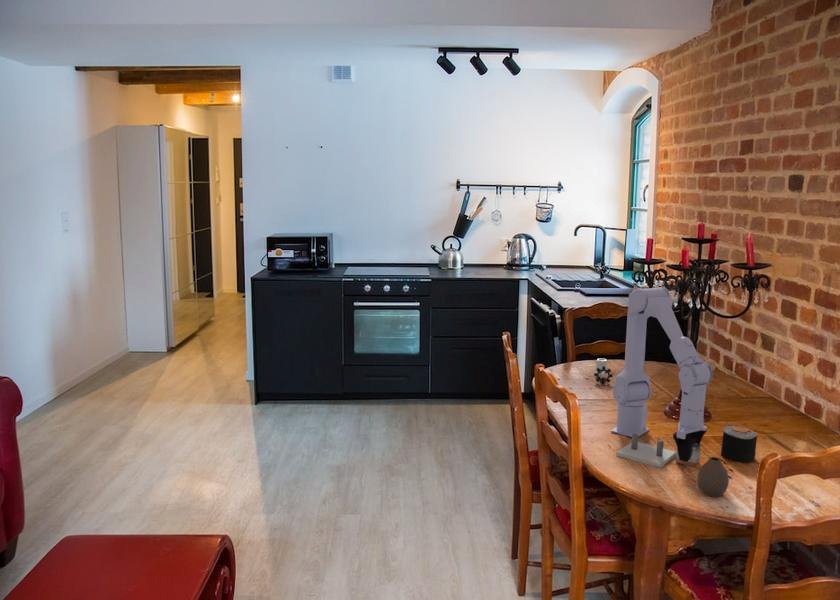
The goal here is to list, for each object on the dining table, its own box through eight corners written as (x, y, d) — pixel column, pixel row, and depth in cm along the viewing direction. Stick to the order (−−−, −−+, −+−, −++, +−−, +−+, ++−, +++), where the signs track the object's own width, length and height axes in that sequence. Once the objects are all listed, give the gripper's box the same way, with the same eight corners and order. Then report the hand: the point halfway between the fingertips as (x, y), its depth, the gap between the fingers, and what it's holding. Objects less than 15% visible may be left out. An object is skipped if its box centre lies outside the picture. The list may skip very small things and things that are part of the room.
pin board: (633, 444, 203) (634, 427, 202) (675, 455, 195) (677, 437, 194) (616, 455, 194) (618, 438, 193) (660, 467, 187) (662, 449, 186)
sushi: (728, 448, 201) (731, 421, 199) (759, 457, 195) (762, 429, 193) (715, 456, 195) (718, 428, 194) (746, 465, 189) (749, 436, 188)
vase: (691, 492, 172) (694, 458, 171) (703, 484, 177) (707, 450, 176) (719, 502, 168) (723, 467, 166) (732, 493, 172) (735, 459, 171)
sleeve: (681, 457, 194) (683, 439, 193) (699, 461, 191) (700, 444, 190) (675, 462, 190) (677, 444, 190) (693, 467, 188) (694, 448, 187)
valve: (591, 374, 272) (593, 383, 260) (592, 357, 271) (594, 366, 259) (609, 375, 271) (612, 384, 259) (610, 358, 270) (613, 367, 258)
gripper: (698, 418, 180) (693, 469, 182) (716, 404, 191) (712, 453, 194) (670, 412, 184) (666, 462, 187) (690, 399, 195) (685, 446, 198)
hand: (687, 457), depth 190 cm, fingers open, 6 cm apart
